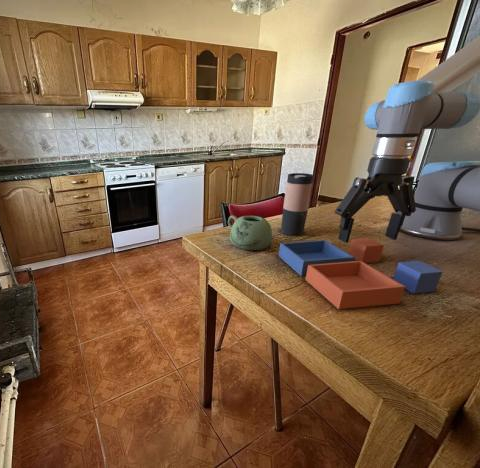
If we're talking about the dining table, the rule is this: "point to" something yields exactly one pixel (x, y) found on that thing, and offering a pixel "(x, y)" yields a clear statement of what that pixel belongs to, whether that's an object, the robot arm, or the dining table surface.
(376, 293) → the terracotta bin
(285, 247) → the blue bin
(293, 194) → the travel mug
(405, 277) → the blue block
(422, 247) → the dining table surface
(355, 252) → the terracotta block
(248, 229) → the mug
